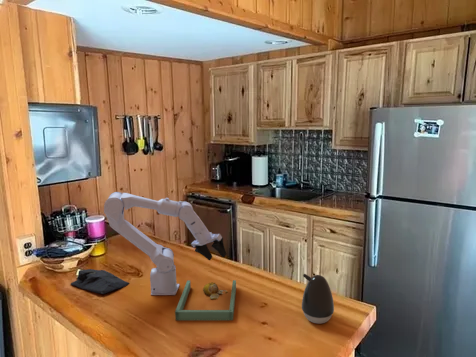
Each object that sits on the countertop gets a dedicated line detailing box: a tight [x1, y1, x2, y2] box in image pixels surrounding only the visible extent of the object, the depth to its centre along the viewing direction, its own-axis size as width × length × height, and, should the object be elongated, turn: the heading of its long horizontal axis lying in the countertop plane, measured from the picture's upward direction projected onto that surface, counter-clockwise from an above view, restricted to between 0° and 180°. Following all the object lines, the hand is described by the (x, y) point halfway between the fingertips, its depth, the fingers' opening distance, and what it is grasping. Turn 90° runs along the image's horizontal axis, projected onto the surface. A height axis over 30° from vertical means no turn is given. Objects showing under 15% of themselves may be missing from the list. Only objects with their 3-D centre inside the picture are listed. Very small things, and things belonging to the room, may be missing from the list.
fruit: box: [202, 282, 228, 300], centre depth 133 cm, size 8×8×4 cm
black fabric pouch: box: [70, 268, 130, 295], centre depth 143 cm, size 15×22×5 cm
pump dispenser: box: [301, 273, 335, 325], centre depth 114 cm, size 10×10×15 cm
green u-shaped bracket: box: [174, 279, 237, 321], centre depth 127 cm, size 19×22×3 cm
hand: (217, 257), depth 138 cm, fingers open, 7 cm apart
